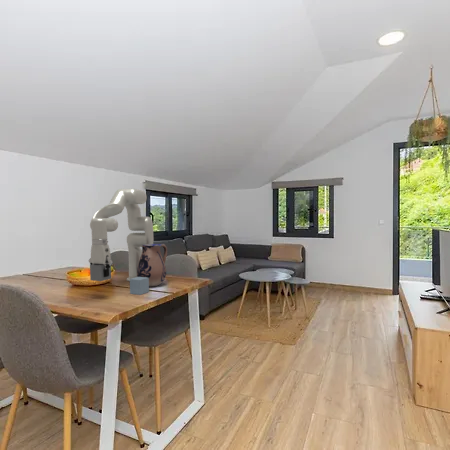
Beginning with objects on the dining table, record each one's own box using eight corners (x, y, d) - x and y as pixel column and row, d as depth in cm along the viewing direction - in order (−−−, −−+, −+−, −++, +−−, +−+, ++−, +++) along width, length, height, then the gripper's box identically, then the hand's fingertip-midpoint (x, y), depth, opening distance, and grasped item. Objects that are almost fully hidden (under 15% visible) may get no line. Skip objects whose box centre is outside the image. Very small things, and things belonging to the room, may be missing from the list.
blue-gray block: (138, 290, 176) (138, 276, 175) (148, 291, 173) (148, 277, 172) (130, 293, 169) (129, 279, 169) (140, 294, 166) (139, 280, 166)
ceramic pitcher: (130, 286, 186) (130, 245, 186) (154, 280, 205) (153, 242, 204) (153, 289, 178) (152, 246, 177) (175, 282, 197) (174, 243, 196)
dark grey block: (101, 277, 167) (100, 262, 166) (111, 278, 164) (110, 263, 163) (90, 280, 160) (89, 264, 160) (100, 281, 157) (100, 265, 157)
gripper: (117, 242, 161) (118, 275, 161) (93, 241, 168) (94, 273, 169) (106, 243, 154) (107, 278, 155) (82, 242, 161) (83, 276, 162)
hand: (100, 275), depth 162 cm, fingers closed on dark grey block, 7 cm apart
